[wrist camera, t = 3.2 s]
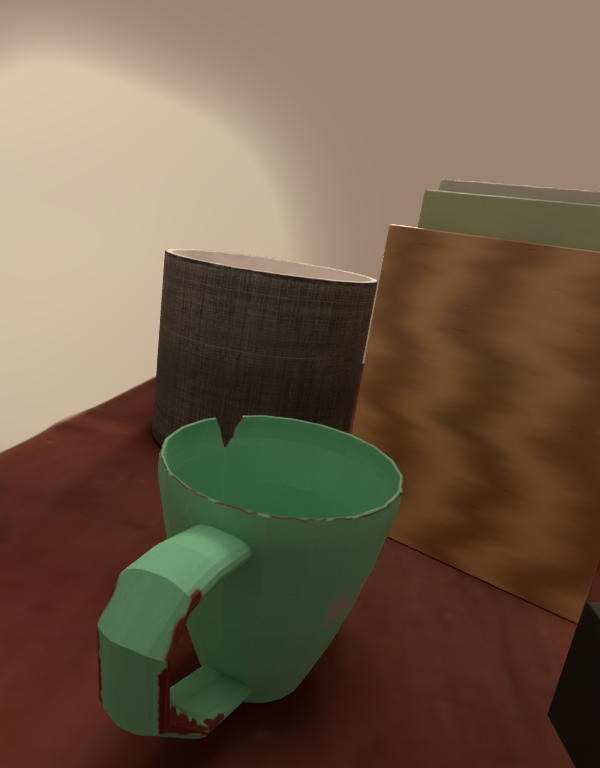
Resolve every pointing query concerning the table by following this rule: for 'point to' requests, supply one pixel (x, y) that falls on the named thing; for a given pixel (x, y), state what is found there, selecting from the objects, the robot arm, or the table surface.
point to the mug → (243, 569)
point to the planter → (258, 341)
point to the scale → (515, 213)
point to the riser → (491, 407)
